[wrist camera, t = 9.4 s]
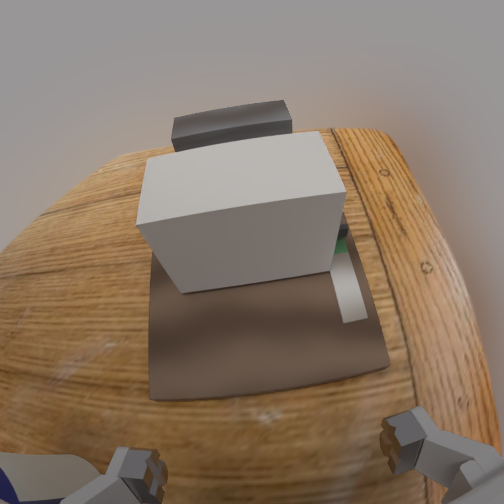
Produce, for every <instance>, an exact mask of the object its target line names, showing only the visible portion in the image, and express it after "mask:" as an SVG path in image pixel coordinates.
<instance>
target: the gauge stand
mask: <svg viewBox="0 0 504 504" xmlns="http://www.w3.org/2000/svg"><path fill="white" fill-rule="evenodd" d="M283 134H292V119H291V116H290V114H289V111H288V109H287V107H286V104H285V102H284V100H280V101H271V102H263V103H255V104H248V105H241V106H234V107H228V108H223V109H217V110H211V111H206V112H201V113H195V114H191V115H186V116H181V117H177V118H174V125H173V130H172V137H171V140H172V143H173V146H174V149H175V152H180V151H185V150H190V149H195V148H200V147H205V146H210V145H216V144H221V143H227V142H233V141H240V140H246V139H253V138H260V137H267V136H275V135H283ZM340 224H347V221H346V218H345V216H344V213H342V217H341V223H340ZM347 225H348V224H347ZM348 227H349V226H348ZM390 365H391V364H390V360H389V356H388V352H387V348H386V344H385V340H384V336H383V333H382V329H381V325H380V322H379V318H378V315H377V311H376V308H375V304H374V301H373V298H372V294H371V291H370V288H369V285H368V282H367V278H366V275H365V272H364V269H363V266H362V263H361V260H360V257H359V254H358V251H357V249H356V246H355V243H354V240H353V237H352V234H351V232H350V229H349V230H348V234H347V237H342V238H337V241H336V246H335V250H334V254H333V259H332V263H331V267H330V271H325V272H319V273H313V274H307V275H301V276H295V277H289V278H283V279H276V280H270V281H263V282H257V283H250V284H244V285H237V286H230V287H223V288H216V289H209V290H202V291H194V292H187V293H180V291H179V290H178V288H177V287H176V285H175V284H174V282H173V281H172V279H171V278H170V277H169V275H168V274H167V272H166V271H165V269H164V268H163V266H162V265H161V263H160V262H159V260H158V259H157V257H156V256H155V254H154V253H153V251H152V263H151V279H150V300H149V396H150V400H154V401H187V400H204V399H218V398H229V397H239V396H248V395H256V394H264V393H271V392H278V391H285V390H291V389H297V388H302V387H308V386H313V385H319V384H324V383H328V382H333V381H338V380H342V379H347V378H351V377H355V376H359V375H363V374H367V373H371V372H375V371H379V370H383V369H385V368H387V367H388V366H390Z"/></svg>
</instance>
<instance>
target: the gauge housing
mask: <svg viewBox="0 0 504 504" xmlns="http://www.w3.org/2000/svg"><path fill="white" fill-rule="evenodd" d="M345 197H346V189H345V187H344V185H343V182H342V180H341V178H340V176H339V173H338V171H337V169H336V167H335V165H334V162H333V160H332V158H331V156H330V154H329V152H328V150H327V148H326V146H325V143H324V141H323V139H322V137H321V135H320V133H319V131H312V132H302V133H292V134H283V135H275V136H267V137H260V138H253V139H246V140H240V141H233V142H227V143H221V144H216V145H210V146H205V147H200V148H195V149H190V150H185V151H180V152H175V153H171V154H166V155H162V156H157V157H153V158H149V159H147V164H146V169H145V174H144V179H143V185H142V190H141V196H140V202H139V208H138V214H137V221H136V226H137V228H138V229H139V231H140V232H141V234H142V236H143V237H144V239H145V240H146V242H147V243H148V245H149V246H150V248H151V250H152V251H153V253H154V254H155V256H156V257H157V259H158V260H159V262H160V263H161V265H162V266H163V268H164V269H165V271H166V272H167V274H168V275H169V277H170V278H171V279H172V281H173V282H174V284H175V285H176V287H177V288H178V290H179V291H180V293H187V292H194V291H202V290H209V289H216V288H223V287H230V286H237V285H244V284H250V283H257V282H263V281H270V280H276V279H283V278H289V277H295V276H301V275H307V274H313V273H319V272H325V271H330V267H331V263H332V259H333V254H334V250H335V246H336V241H337V238H342V237H347V234H348V230H349V227H348V225H347V224H340V223H341V217H342V213H343V207H344V202H345Z"/></svg>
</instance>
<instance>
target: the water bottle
mask: <svg viewBox="0 0 504 504" xmlns="http://www.w3.org/2000/svg"><path fill="white" fill-rule="evenodd" d="M100 475H101V474H100V473H99V471H98V470H97V469H96V468H95V467H94V466H93V465H92V464H91V463H89V462H88V461H87V460H85V459H83V458H81V457H79V456H76V455H72V454H59V455H28V454H16V453H6V452H0V499H2V500H3V501H5V502H7V503H9V504H60V502H61V500H63V499H65V498H66V497H68V496H70V495H71V494H73V493H74V492H76V491H78V490H79V489H81V488H82V487H84V486H85V485H87V484H88V483H90V482H91V481H93V480H94V479H96V478H97V477H99V476H100Z"/></svg>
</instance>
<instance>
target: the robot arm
mask: <svg viewBox="0 0 504 504" xmlns="http://www.w3.org/2000/svg"><path fill="white" fill-rule="evenodd" d="M381 426H382V428H383V431H382V432H381V433H380V447H381V450H382V452H383V454H384V455H385V456H387V457H389V460H388V465H389V467H390V469H391V471H392V474H393V476H394V475H397V474H400V473H403V472H405V471H408V470H411V469H414V468H415V470H417V471H418V472H420V473H422V474H423V475H425V476H427V477H429V478H430V479H432V480H434V481H436V482H438V483H439V484H441V485H443V486H445V487H447V488H448V490H447V492H446V493H445V495H444V497H443V499H442V500H441V503H442V504H504V460H503V459H502V457H501V456H500V455H499V454H498V452H497V451H496V450H495V449H494V447H493V446H490V445H487V444H484V443H481V442H477V441H474V440H471V439H468V438H465V437H462V436H459V435H456V434H454V433H451V432H448V431H445V430H443V431H440V430H439V428H438V427H437V426H436V424H435V423H434V421H433V420H432V419H431V417H430V416H429V415H428V413H427V412H426V411H425V409H424V408H423V407H422V406H417V407H415V408H412V409H409V410H406V411H403V412H400V413H397V414H394V415H392V416H389V417H385V418H383V420H382V424H381ZM159 457H160V454H159V452H158V451H157V449H148V448H135V447H124V446H119V447H118V448H117V449H116V451H115V453H114V455H113V458H112V460H111V462H110V464H109V467H108V469H107V471H106V474H105V475H100V476H99V477H97V478H96V479H94V480H93V481H91V482H90V483H88V484H87V485H85V486H84V487H82V488H81V489H79V490H78V491H76V492H74V493H73V494H71V495H70V496H68V497H66V498H65V499H63V500H61V502H60V504H141V503H144V504H162V502H163V497H164V493H165V492H164V490H163V488H162V487H163V486H164V485H165V484H167V480H168V470H167V467H166V465H165V463H164V462H163V461H162V460H160V459H159ZM0 504H9V503H7V502H5V501H3V500H2V499H0Z"/></svg>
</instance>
